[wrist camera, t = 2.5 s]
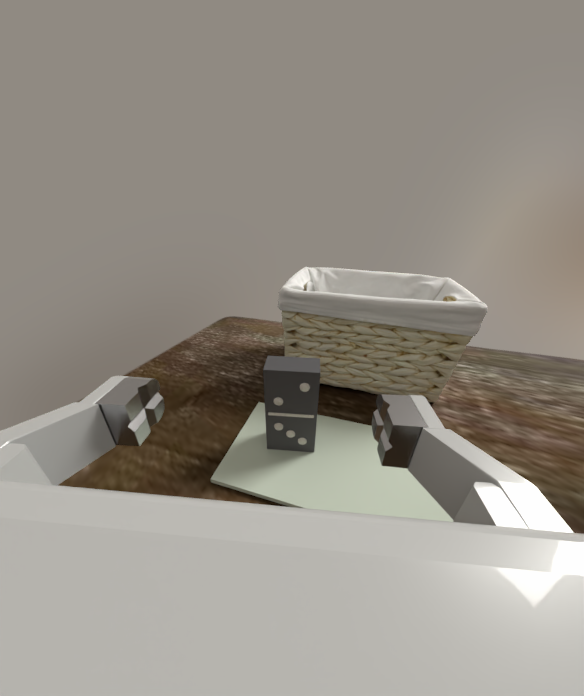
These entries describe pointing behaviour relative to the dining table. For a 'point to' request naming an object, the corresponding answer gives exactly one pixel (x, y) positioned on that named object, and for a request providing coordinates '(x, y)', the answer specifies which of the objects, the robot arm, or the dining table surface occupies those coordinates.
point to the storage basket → (379, 328)
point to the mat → (324, 472)
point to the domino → (291, 402)
